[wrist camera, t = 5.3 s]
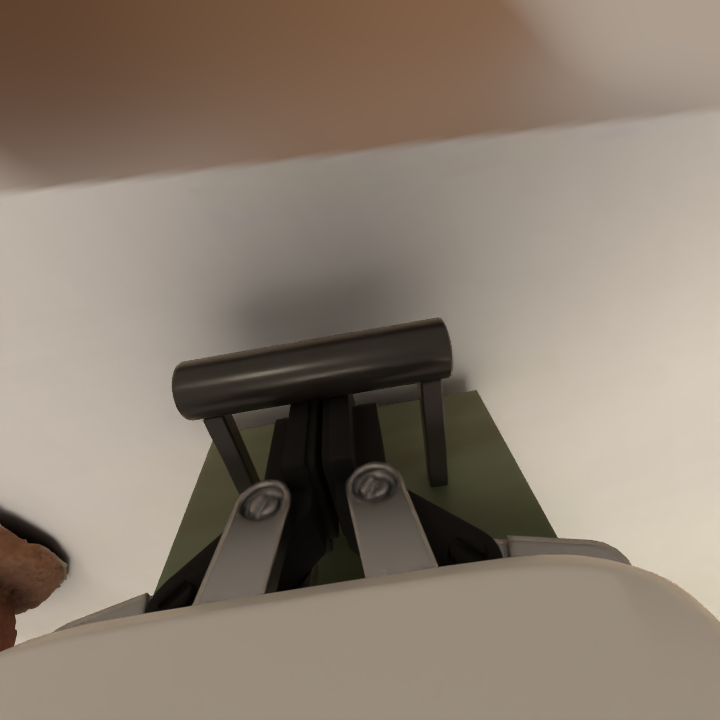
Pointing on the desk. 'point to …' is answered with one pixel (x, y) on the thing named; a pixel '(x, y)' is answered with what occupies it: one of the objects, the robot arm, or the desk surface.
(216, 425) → the drawer
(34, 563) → the figurine
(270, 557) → the robot arm
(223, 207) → the desk surface
